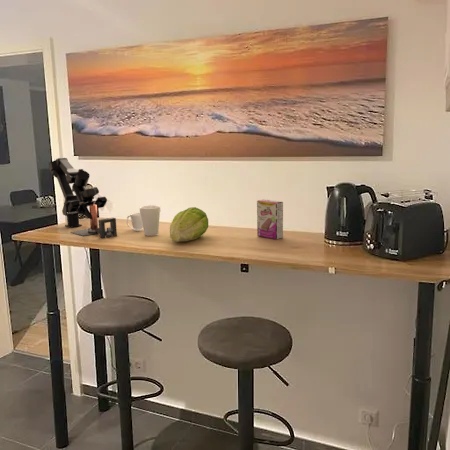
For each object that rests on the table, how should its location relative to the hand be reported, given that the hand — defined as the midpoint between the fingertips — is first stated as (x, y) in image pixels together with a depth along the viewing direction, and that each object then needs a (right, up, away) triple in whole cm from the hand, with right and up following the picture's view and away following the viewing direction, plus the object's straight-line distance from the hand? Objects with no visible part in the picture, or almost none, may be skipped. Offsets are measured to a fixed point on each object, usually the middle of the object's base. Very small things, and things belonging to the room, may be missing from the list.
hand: (95, 218), depth 230 cm
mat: (-4, -7, +6) cm, 10 cm away
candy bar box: (+82, -9, -15) cm, 83 cm away
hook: (+3, -7, -1) cm, 8 cm away
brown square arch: (+8, -9, -6) cm, 13 cm away
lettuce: (+45, -10, -16) cm, 49 cm away
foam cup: (+27, -8, -3) cm, 28 cm away
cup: (+18, -6, +8) cm, 20 cm away
